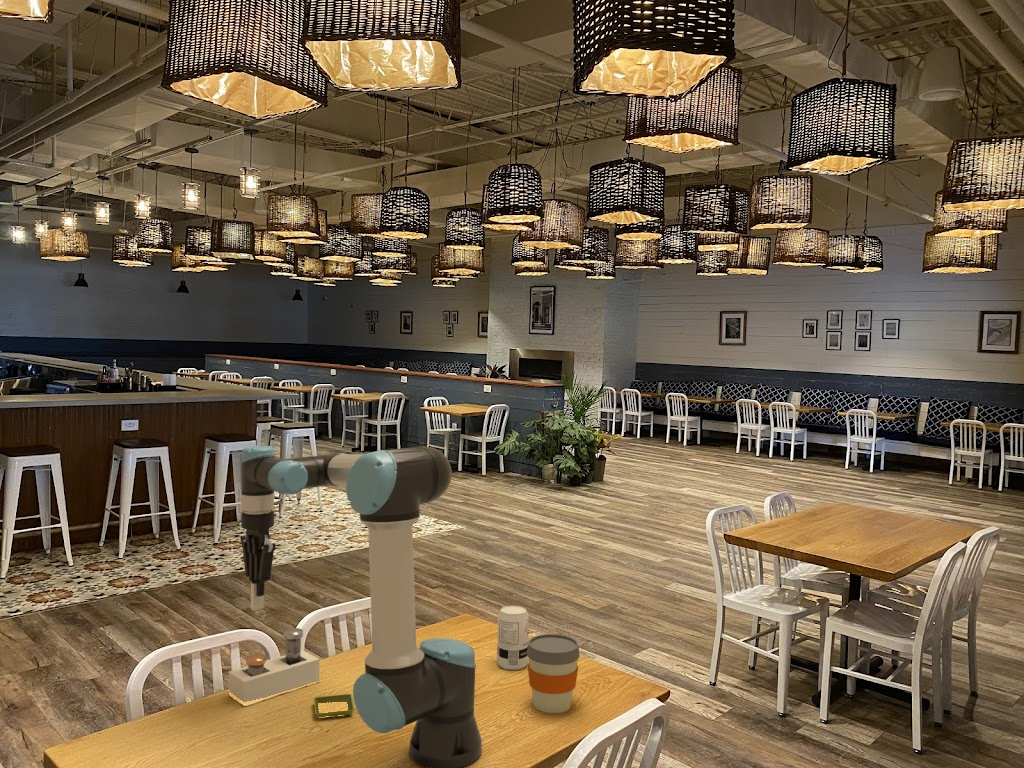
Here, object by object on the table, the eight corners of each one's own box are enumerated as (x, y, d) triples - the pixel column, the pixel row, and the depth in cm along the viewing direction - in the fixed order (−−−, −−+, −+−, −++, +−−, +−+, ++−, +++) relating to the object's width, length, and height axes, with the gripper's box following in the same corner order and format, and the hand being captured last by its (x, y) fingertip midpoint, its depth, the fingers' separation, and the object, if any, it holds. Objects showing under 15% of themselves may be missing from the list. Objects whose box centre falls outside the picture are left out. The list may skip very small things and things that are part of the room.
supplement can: (492, 661, 216) (493, 607, 215) (519, 657, 219) (520, 603, 218) (504, 673, 208) (505, 616, 208) (532, 668, 212) (534, 612, 211)
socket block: (244, 707, 186) (244, 682, 186) (228, 696, 192) (228, 671, 191) (319, 682, 200) (319, 659, 200) (302, 672, 206) (302, 650, 206)
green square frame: (354, 718, 182) (354, 709, 182) (315, 723, 180) (315, 714, 180) (351, 702, 191) (351, 693, 191) (313, 705, 188) (313, 697, 188)
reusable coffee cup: (541, 688, 199) (542, 629, 199) (587, 701, 193) (588, 640, 192) (516, 708, 189) (517, 645, 188) (563, 721, 182) (564, 657, 181)
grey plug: (289, 669, 196) (289, 636, 196) (280, 663, 199) (280, 631, 199) (306, 663, 199) (306, 631, 199) (296, 658, 202) (296, 626, 202)
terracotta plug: (251, 697, 189) (251, 663, 189) (242, 690, 192) (242, 657, 192) (269, 691, 192) (269, 657, 192) (260, 685, 196) (260, 652, 195)
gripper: (286, 513, 188) (285, 611, 190) (258, 504, 198) (258, 598, 199) (256, 517, 183) (256, 618, 184) (230, 508, 192) (229, 605, 193)
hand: (257, 608), depth 191 cm, fingers closed
